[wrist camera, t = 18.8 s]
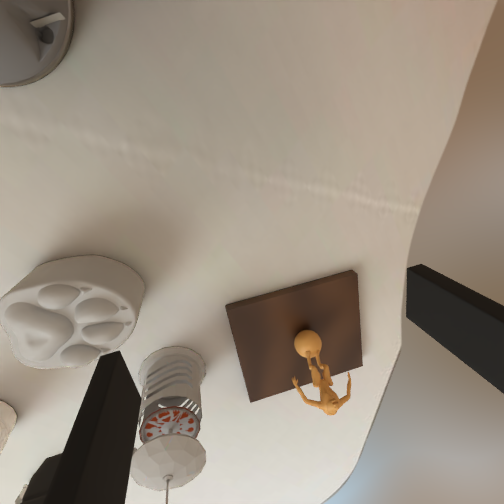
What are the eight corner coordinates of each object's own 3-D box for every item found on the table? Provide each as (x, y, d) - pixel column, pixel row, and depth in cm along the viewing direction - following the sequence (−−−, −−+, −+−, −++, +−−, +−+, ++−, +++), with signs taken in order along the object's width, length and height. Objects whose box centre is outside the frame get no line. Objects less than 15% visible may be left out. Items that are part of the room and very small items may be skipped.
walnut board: (248, 395, 50) (250, 402, 48) (225, 305, 43) (226, 310, 41) (358, 360, 52) (362, 366, 51) (352, 269, 45) (357, 273, 44)
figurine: (329, 323, 46) (375, 380, 35) (323, 355, 48) (364, 418, 37) (278, 325, 44) (310, 386, 33) (274, 359, 46) (302, 427, 35)
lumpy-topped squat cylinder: (20, 264, 35) (-27, 300, 27) (135, 247, 37) (122, 276, 29) (49, 337, 39) (15, 387, 31) (152, 318, 41) (144, 360, 33)
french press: (212, 387, 47) (238, 618, 24) (138, 410, 46) (93, 679, 23) (197, 338, 44) (211, 556, 21) (116, 361, 42) (35, 623, 19)
